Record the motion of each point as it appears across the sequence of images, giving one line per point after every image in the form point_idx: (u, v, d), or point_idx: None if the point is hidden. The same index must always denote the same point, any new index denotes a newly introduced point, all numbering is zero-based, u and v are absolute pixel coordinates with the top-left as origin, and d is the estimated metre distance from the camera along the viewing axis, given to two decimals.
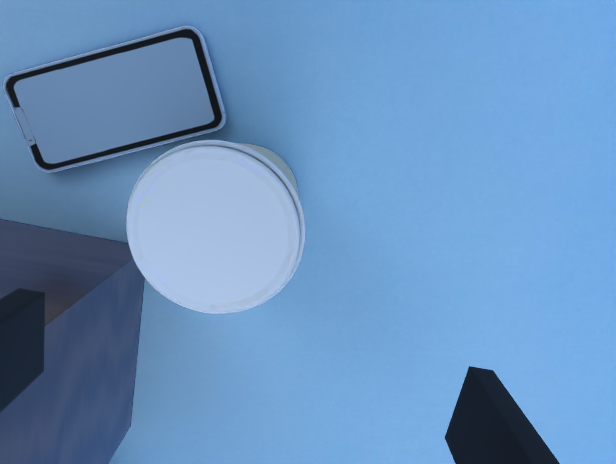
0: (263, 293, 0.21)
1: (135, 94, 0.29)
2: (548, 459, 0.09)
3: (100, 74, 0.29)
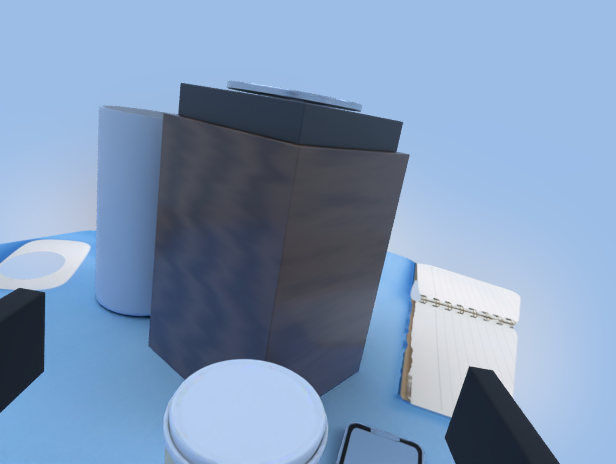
0: (177, 402, 0.23)
1: None
2: (548, 459, 0.09)
3: None
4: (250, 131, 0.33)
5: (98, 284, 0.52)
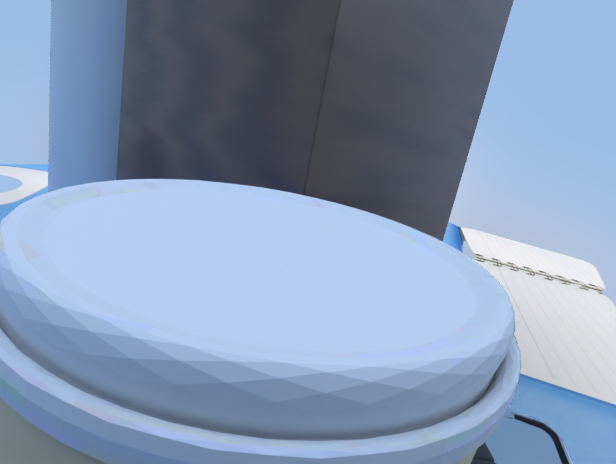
0: (53, 202, 0.07)
1: None
2: None
3: None
4: None
5: None
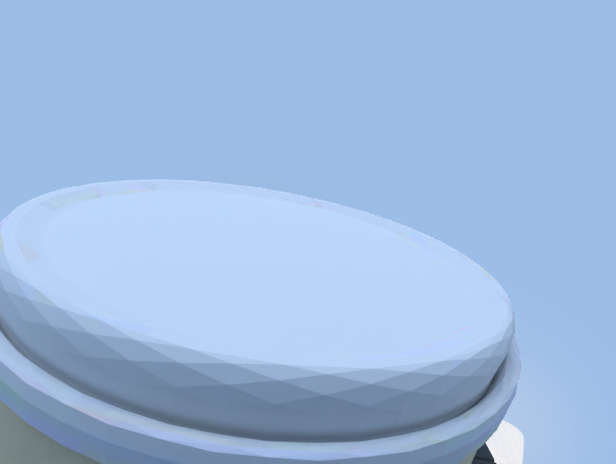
0: (53, 203, 0.07)
1: None
2: None
3: None
4: None
5: None
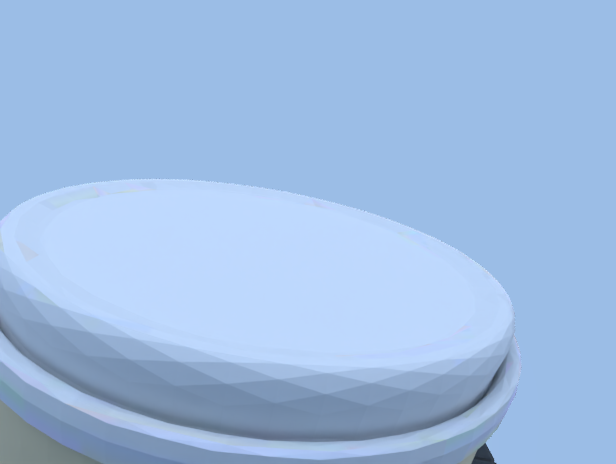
0: (52, 202, 0.07)
1: None
2: None
3: None
4: None
5: None
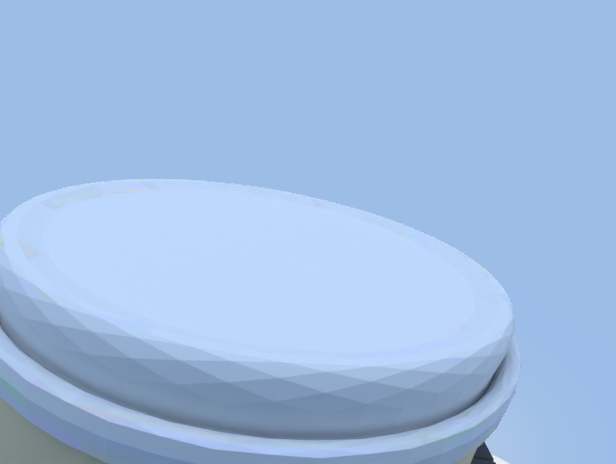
0: (53, 202, 0.07)
1: None
2: None
3: None
4: None
5: None
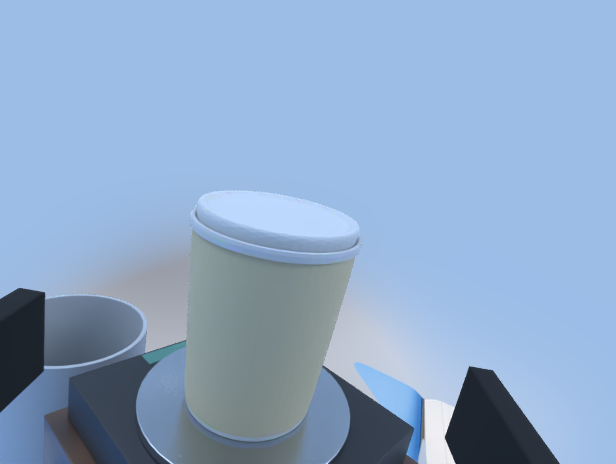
0: (205, 199, 0.21)
1: None
2: (548, 459, 0.09)
3: None
4: None
5: None
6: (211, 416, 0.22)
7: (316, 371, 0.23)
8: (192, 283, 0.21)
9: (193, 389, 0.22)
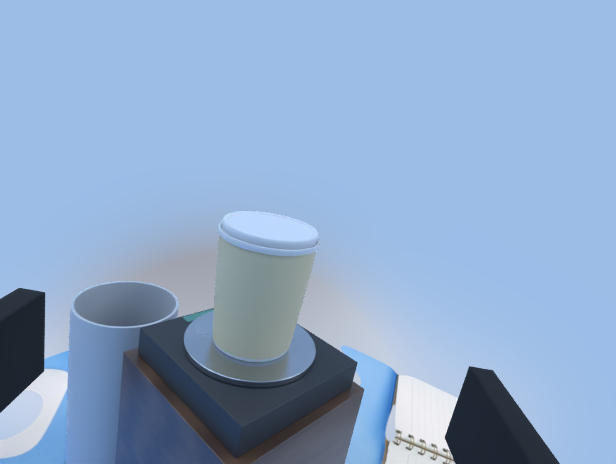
0: (227, 218, 0.36)
1: None
2: (548, 459, 0.09)
3: None
4: (197, 415, 0.34)
5: (67, 461, 0.53)
6: (229, 346, 0.37)
7: (292, 321, 0.38)
8: (219, 267, 0.36)
9: (219, 331, 0.37)
